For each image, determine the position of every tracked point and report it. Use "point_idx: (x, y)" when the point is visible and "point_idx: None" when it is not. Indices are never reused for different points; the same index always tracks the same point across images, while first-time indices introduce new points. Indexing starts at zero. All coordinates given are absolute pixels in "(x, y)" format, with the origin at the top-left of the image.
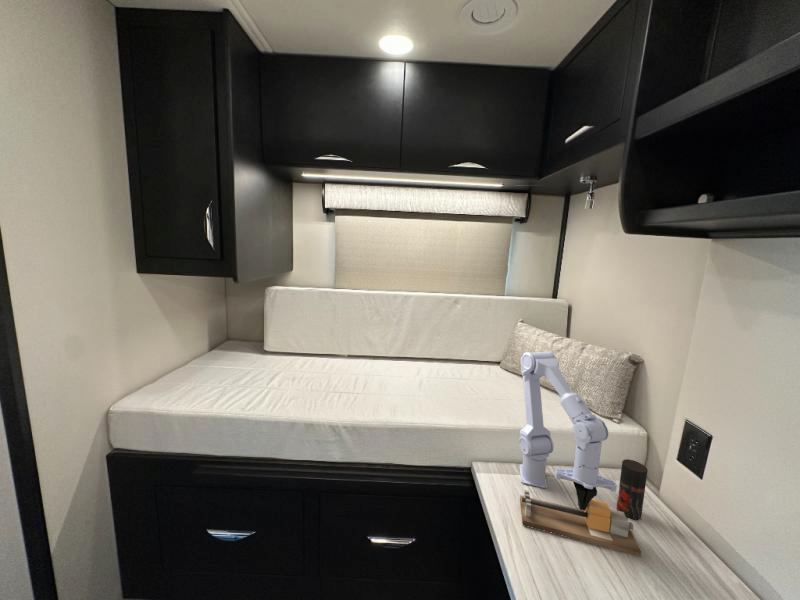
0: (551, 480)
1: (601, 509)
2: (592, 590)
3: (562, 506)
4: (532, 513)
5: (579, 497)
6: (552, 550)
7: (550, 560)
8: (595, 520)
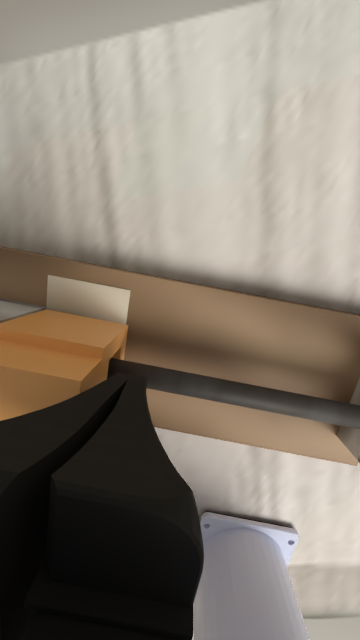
0: None
1: (7, 362)
2: (237, 22)
3: (189, 428)
4: (348, 373)
5: (146, 426)
6: (320, 209)
7: (355, 152)
8: (83, 331)
